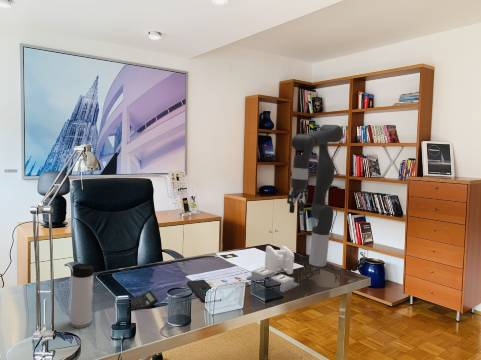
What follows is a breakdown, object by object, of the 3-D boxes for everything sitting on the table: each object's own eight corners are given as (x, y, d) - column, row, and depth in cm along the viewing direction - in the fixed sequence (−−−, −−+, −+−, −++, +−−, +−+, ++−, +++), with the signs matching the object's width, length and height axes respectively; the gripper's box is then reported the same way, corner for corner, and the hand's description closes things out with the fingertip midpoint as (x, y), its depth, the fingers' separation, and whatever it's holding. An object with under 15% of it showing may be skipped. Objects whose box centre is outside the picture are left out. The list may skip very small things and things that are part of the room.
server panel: (263, 273, 183) (264, 264, 183) (298, 285, 171) (299, 276, 170) (246, 279, 173) (247, 270, 173) (282, 292, 161) (283, 283, 160)
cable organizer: (263, 266, 194) (265, 244, 193) (282, 265, 197) (284, 244, 195) (273, 276, 179) (275, 253, 178) (293, 276, 182) (295, 253, 181)
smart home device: (202, 299, 145) (186, 280, 163) (202, 304, 145) (186, 284, 163) (222, 297, 149) (204, 279, 166) (222, 301, 149) (203, 282, 167)
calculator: (120, 301, 141) (120, 293, 141) (150, 297, 147) (151, 289, 147) (126, 312, 133) (126, 304, 133) (157, 307, 139) (158, 299, 139)
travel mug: (65, 324, 121) (67, 264, 119) (83, 317, 127) (85, 259, 125) (77, 330, 118) (79, 269, 116) (95, 323, 124) (97, 264, 122)
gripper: (300, 176, 183) (297, 209, 184) (284, 177, 172) (281, 212, 174) (314, 178, 178) (311, 212, 180) (298, 179, 167) (295, 215, 169)
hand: (296, 212), depth 177 cm, fingers open, 8 cm apart
